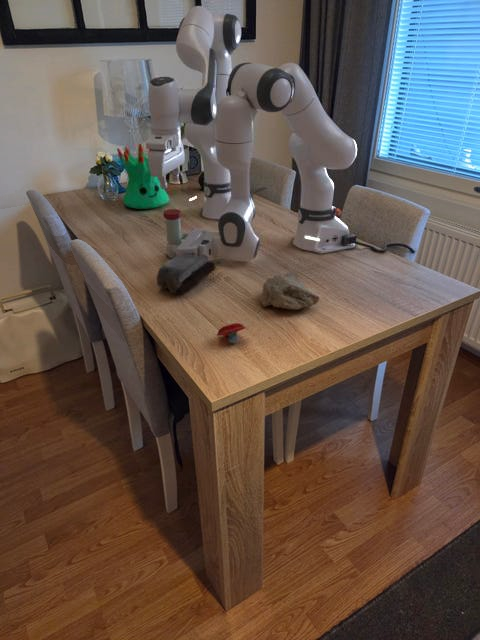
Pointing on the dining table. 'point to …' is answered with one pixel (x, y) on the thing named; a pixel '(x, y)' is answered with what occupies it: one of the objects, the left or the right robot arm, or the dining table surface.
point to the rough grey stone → (287, 293)
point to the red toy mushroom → (231, 331)
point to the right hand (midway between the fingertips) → (172, 241)
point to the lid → (172, 214)
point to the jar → (173, 234)
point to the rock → (184, 272)
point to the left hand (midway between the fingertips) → (170, 184)
